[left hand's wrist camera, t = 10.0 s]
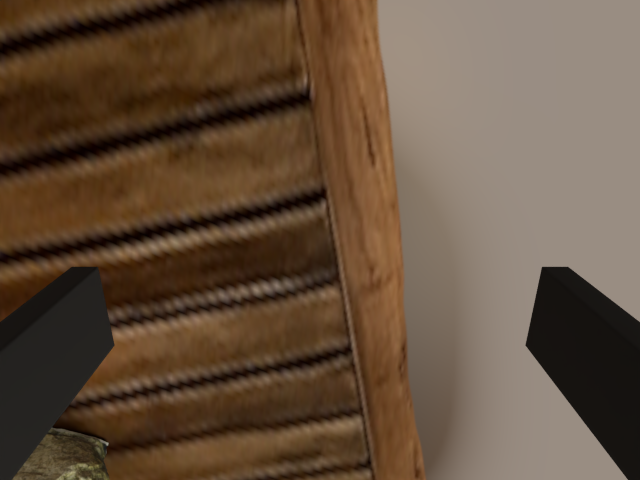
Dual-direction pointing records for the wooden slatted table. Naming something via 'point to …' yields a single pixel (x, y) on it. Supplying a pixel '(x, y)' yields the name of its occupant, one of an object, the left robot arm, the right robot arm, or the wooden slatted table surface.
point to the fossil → (66, 458)
